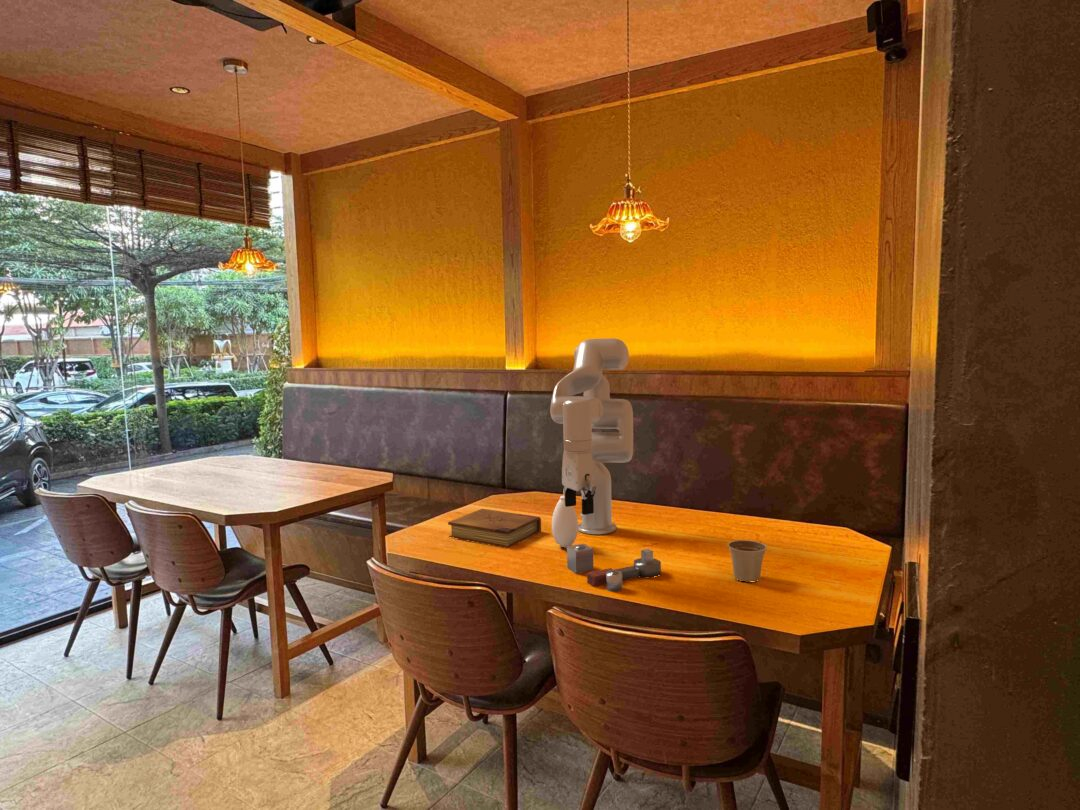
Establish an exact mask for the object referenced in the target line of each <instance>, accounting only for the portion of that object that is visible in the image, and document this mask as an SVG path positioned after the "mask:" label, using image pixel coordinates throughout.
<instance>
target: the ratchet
mask: <svg viewBox="0 0 1080 810" xmlns="http://www.w3.org/2000/svg"><path fill="white" fill-rule="evenodd" d="M640 553H641V554H640V558H635V560H634V561H633V565H631V566H625V567H620V568H616V569H615V568H605V569H601V570H599V569H598V570H594V571H589V572H586V577H587V578H586V580H587V581H586V582H587V584H589V585H590V586H591V587H594V588H595V587H599V586H600V587H601V586H606V572H607V571H611V570H617V571H620V572H622V581H626V579H627V580H631V579H630V578H632V579H636V578H635V577H637V578H642V577H654V576H658V575H660V574H661V575H662V562H661V561H660V560H659V559H657V558H654V550H652V549H650V548H643V549H641V550H640ZM661 575H660V576H661ZM639 576H640V577H639ZM658 577H659V576H658Z"/></svg>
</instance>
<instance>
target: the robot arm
mask: <svg viewBox="0 0 1080 810" xmlns="http://www.w3.org/2000/svg"><path fill="white" fill-rule="evenodd" d="M573 357H574V364H573V369H572V371H570V373H567V374H566V375H564V377H562V378H561V379H560V380H559V381H558V382H557V383H556V385H555V386H554V389H553V391H552V396H551V399H550V400H551V402H550V408H549V413H550V417H551V420H552V421H553V422H555V424H560V425H561V424H562V425H563V427H562V428H563V429H562V431H563V433H562V434H563V437H562V439H563V453H562V465H561V466H562V467H561V484H562V486H563V490H564V491H565V506H566V507H569V506H573V507H574V506H577V492H579V491H580V494H581V513H580V514H579V517H580V518H581V522H580V523H578V531H579V532H580V533H583V534H588V535H607V534H612V533H614V532H616V531H617V528H618V527H617V524H616V523H614V522H612V521H613V520H612V516H613V515H612V477H611V473H610V471H609V469H608V468H607V467H606V466H605V464H606V463H617V464H618V463H622V464H623V463H628V462H630V461H631V460H632V459H633V455H634V411H633V405H632V403H631V402H630V401H629V400H627V399H624V398H611V396H610V395H611V394H610V393H611V392H610V389H611V387H610V383H609V380H608V379H607V378H606V376H605V375H604V374H603V371H615V370H616V371H619V370H621V371H622V370H625V369H626V368H627V366H628V364H629V360H630V353H629V349H628V347H627V345H626V343H625V342H624V341H623V340H621V339H619V338H613V337H612V338H611V337H610V338H589V339H585V340H584V339H583V341H581V342H580V343H579V344H578V346H576V347H575V349H574V352H573ZM582 393H583V396H579V395H578V394H582ZM593 429H610V430H612V429H613V430H614V429H616V430H618V432H603V431H602V432H599V431H598V432H597V431H595V432H593ZM604 463H605V464H604Z"/></svg>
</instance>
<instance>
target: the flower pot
mask: <svg viewBox="0 0 1080 810" xmlns="http://www.w3.org/2000/svg"><path fill="white" fill-rule="evenodd" d="M727 548H729V552H730V555H731V562H732V570H733V578H734V577H735V578H736V579H738V580H741V581H745V582H748V581H749V582H748V583H750V581H757V580H759V581H760V579H761V572H762V568H763V567H762V566H763V559H764V556H765V554H766V550H767V549H768V546H767V545H766V544H765V543H762V542H761V541H755V540H749V539H745V540H744V539H741V540H733V541H730V542H728V543H727ZM735 578H734V579H735ZM736 579H735V580H736ZM738 580H737V581H738ZM741 581H740V582H741ZM757 582H758V581H757Z"/></svg>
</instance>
